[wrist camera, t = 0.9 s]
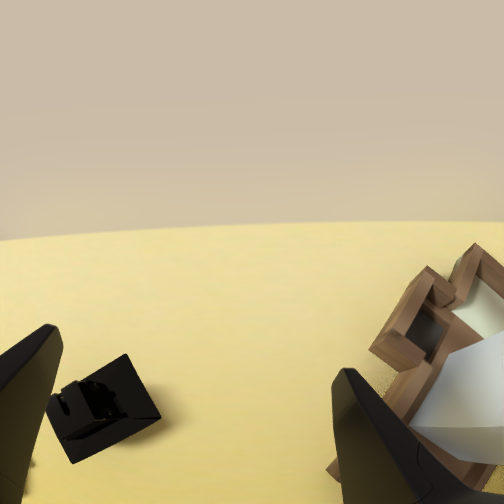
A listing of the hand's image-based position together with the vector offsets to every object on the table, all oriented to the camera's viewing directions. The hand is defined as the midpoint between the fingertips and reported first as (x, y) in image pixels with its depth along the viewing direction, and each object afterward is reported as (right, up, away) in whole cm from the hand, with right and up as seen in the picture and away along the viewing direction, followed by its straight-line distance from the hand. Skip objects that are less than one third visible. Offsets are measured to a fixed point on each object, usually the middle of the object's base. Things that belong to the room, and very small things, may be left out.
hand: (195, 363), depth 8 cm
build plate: (-10, -9, +10) cm, 17 cm away
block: (+16, -8, +7) cm, 19 cm away
